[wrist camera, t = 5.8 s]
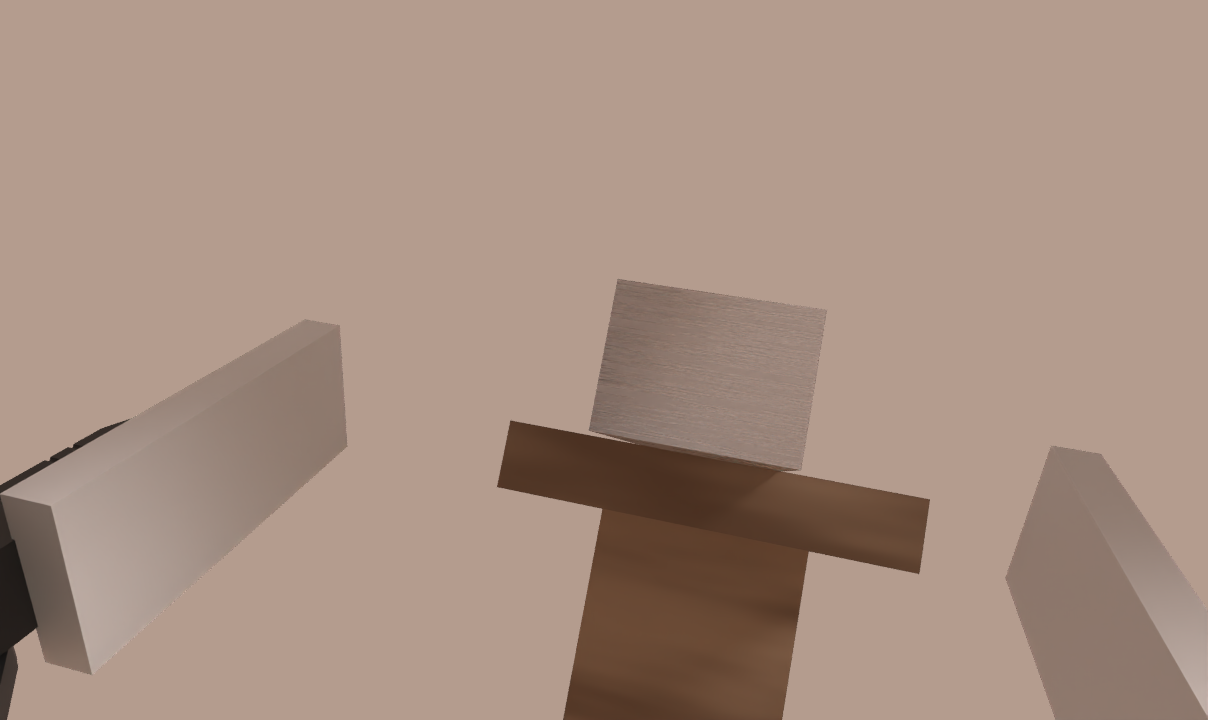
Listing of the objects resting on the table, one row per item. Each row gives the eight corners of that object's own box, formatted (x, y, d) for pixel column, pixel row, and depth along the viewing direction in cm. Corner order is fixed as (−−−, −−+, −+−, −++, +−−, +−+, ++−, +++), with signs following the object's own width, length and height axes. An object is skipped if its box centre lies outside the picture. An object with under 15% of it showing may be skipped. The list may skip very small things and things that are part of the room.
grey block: (681, 456, 39) (692, 396, 39) (764, 472, 38) (774, 410, 38) (588, 430, 15) (617, 279, 15) (801, 470, 14) (826, 309, 15)
